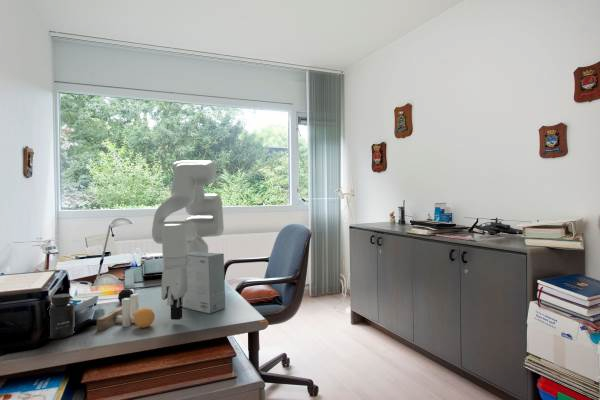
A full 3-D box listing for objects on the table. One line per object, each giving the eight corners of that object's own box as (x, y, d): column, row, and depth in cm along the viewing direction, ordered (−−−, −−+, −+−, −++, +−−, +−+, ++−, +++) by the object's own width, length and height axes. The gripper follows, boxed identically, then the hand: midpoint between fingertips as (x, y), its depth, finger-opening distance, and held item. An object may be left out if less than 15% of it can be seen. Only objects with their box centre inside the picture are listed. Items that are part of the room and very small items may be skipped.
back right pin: (133, 319, 125) (132, 293, 125) (140, 319, 125) (139, 293, 124) (129, 321, 122) (128, 295, 122) (136, 321, 122) (135, 295, 122)
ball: (143, 301, 116) (159, 307, 120) (130, 311, 118) (146, 317, 122) (141, 317, 112) (158, 323, 116) (128, 327, 113) (145, 333, 117)
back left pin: (125, 324, 120) (124, 298, 120) (132, 324, 120) (131, 298, 119) (120, 326, 117) (120, 300, 117) (128, 326, 117) (127, 300, 117)
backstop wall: (122, 315, 129) (122, 305, 129) (128, 315, 128) (127, 305, 128) (96, 330, 115) (96, 319, 115) (103, 330, 114) (102, 319, 114)
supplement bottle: (61, 340, 107) (60, 299, 107) (42, 339, 109) (40, 298, 109) (80, 331, 114) (79, 292, 114) (61, 330, 115) (60, 292, 115)
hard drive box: (226, 308, 134) (224, 253, 134) (210, 314, 128) (208, 256, 127) (197, 302, 143) (196, 250, 143) (181, 307, 137) (179, 253, 136)
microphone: (121, 300, 159) (121, 307, 141) (116, 288, 159) (115, 293, 141) (134, 295, 162) (136, 300, 144) (129, 282, 161) (130, 286, 143)
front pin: (144, 322, 122) (119, 321, 123) (144, 314, 122) (119, 314, 123) (140, 324, 119) (115, 324, 120) (140, 316, 120) (115, 316, 120)
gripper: (173, 258, 127) (175, 311, 127) (152, 266, 112) (154, 326, 112) (195, 257, 126) (196, 311, 127) (176, 266, 112) (178, 327, 112)
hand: (176, 318), depth 120 cm, fingers closed
